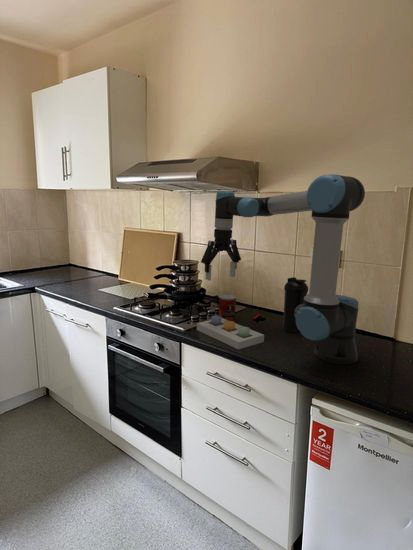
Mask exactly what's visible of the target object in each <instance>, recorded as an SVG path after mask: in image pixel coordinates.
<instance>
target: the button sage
mask: <svg viewBox="0 0 413 550" xmlns="http://www.w3.org/2000/svg"><path fill="white" fill-rule="evenodd" d="M241 326H242V327H239V331H238V336H239V337H242V338H247V337H249V333H250V329H251V328H250V327H248V326H245V325H241Z"/></svg>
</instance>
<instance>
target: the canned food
mask: <svg viewBox="0 0 413 550" xmlns="http://www.w3.org/2000/svg"><path fill="white" fill-rule="evenodd" d="M218 302H219V303H218V316H221V317H222V318H223V319H226V320H228V321H235V320H236V319H235V318H236V307H237V306H236V305H237V297H236V296H235V295H233V294H221V295H219V301H218Z"/></svg>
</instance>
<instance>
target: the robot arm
mask: <svg viewBox="0 0 413 550" xmlns="http://www.w3.org/2000/svg"><path fill="white" fill-rule="evenodd" d="M365 193H366V192H365V187H364V184H363V183H362V182H361V181H360V180H359V179H358V178H356V177H354V176H347V175H346V176H345V175H340V174H332V173H331V174H323V175H322V174H321V175H319V176H317V177H316V178H315V179H314V180H312V182H311V183H310V184H309V186H308V187H307V190H304V191H297V192H292V193H286V194H280V195H278V194H277V195H273V196H267V197H248V196H236V193H235V192H234V191H231V190H230V191H228V190H225V191H224V190H219V191H217V192H216V196H215V197H216V198H215V213H214V228H215V229H213V231H214V232H213V237H214V241H213V240H208V242H207V247H206V249H205V251H204V254H203V255H202V259H201V260H200V263H202V264H203V265H204V273H205V278H204V279H205V280H207V281H212V267H213V266H212V262H213V261H214V259H215V258H216V257H217V255H218V253H220V252H223V251H224V252H226V253H227V254H228V256H229V258H230V260H231V261H230V266H229V277H231V278H235V277H236V270H237V267H238V266H237V265H238V263H239V262H240V261H241V259H242V258H241V255H240V252H239V251H240V250H239V249H238V245H237V240H236V239H232V238H233V230H232V229H233V225H234V224H233V222H234V216H237V217H243V218H254V217H272V216H274V215H275V216H276V215H285V214H286V215H287V214H292V213H295V214H296V213H302V212H311V218H312V220H314V221H313V222H315V228H314V236H313V237H314V238H313V247H312V258H311V259H312V260H311V268H310V269H311V270H310V278H309V279H310V280H309V288H308V293H307V295H306V296H305V297H304V303H303V308H301V309H300V310H299V311H298V312H297V314H296V325H297V328H298V330H299V331H300V334H301V335H302V336H303V337H304V338H306V339H308V340H309V341H317V342H316V344H315V347H314V355H315V357H317V358H318V359H320V360H321V361H324V362H327V363H330V364H335V365H351V364H355V363H356V362H357V361H358V349H357V345H356V340H355V335H356V329H357V321H358V313H359V301H358V299H356V298H354V297H351V296H347V295H342V294H337V285H338V276H339V267H340V259H341V257H340V256H341V251H342V250H341V248H342V240H343V230H344V229H343V228H344V224H345V223H346V222H347V221H348V220H350V214H351V213H350V212H352V211H354V210H357V209H358V208H359V207H360V206H361V205H362V203H363V201H364V199H365Z"/></svg>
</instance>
